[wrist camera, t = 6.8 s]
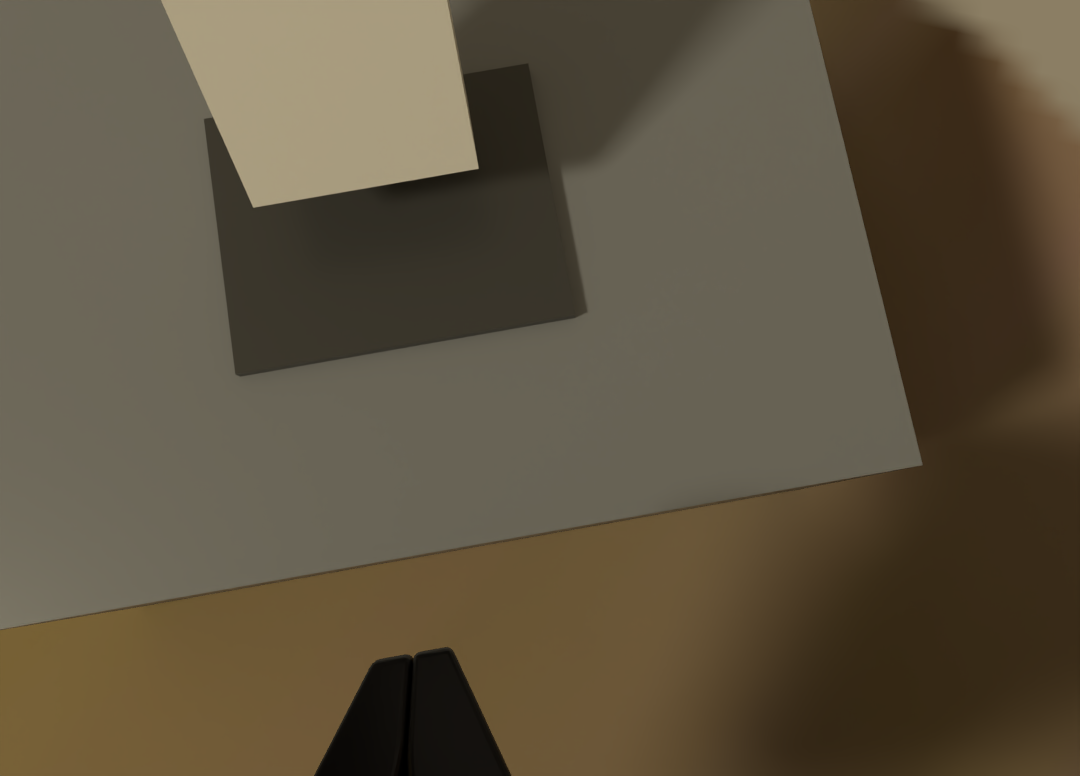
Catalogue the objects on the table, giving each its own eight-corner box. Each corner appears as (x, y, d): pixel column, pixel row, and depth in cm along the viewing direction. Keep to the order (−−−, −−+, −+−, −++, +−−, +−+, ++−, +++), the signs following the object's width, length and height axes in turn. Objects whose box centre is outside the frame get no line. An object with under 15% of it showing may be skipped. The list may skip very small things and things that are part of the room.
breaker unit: (807, 487, 19) (928, 463, 13) (140, 606, 19) (-60, 640, 13) (708, 42, 21) (773, -167, 15) (93, 147, 20) (-104, -19, 14)
